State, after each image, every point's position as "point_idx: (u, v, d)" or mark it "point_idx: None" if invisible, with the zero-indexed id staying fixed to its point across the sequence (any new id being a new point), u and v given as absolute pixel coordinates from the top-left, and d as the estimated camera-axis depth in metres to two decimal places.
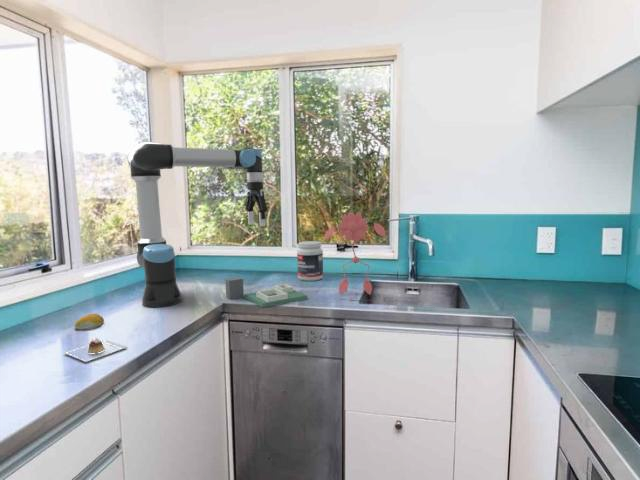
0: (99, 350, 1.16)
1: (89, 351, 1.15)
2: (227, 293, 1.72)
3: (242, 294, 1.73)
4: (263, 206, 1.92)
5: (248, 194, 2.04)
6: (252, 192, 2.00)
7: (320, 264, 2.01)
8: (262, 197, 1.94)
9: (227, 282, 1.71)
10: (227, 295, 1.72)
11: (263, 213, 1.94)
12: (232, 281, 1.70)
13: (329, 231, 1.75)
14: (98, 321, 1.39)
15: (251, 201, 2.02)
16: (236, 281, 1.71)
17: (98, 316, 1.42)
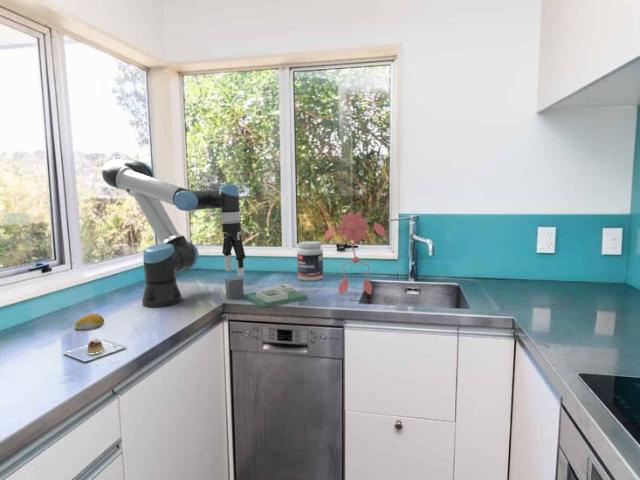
0: (98, 350, 1.16)
1: (88, 351, 1.15)
2: (227, 293, 1.72)
3: (242, 294, 1.73)
4: (240, 253, 1.63)
5: (224, 236, 1.74)
6: (228, 235, 1.70)
7: (320, 264, 2.01)
8: (239, 242, 1.64)
9: (227, 282, 1.71)
10: (227, 295, 1.72)
11: (241, 261, 1.64)
12: (232, 281, 1.70)
13: (329, 231, 1.75)
14: (98, 321, 1.39)
15: (228, 245, 1.73)
16: (236, 281, 1.71)
17: (98, 316, 1.42)
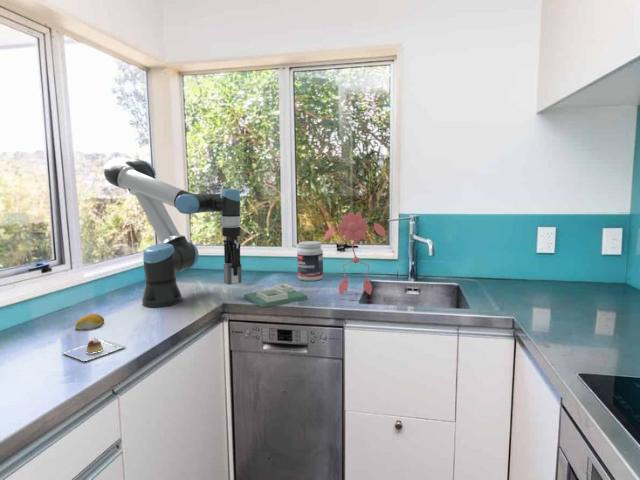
0: (98, 350, 1.16)
1: (88, 351, 1.15)
2: (225, 278, 1.71)
3: (240, 279, 1.72)
4: (236, 262, 1.66)
5: (224, 242, 1.74)
6: (227, 236, 1.71)
7: (320, 264, 2.01)
8: (237, 250, 1.66)
9: (225, 267, 1.70)
10: (225, 280, 1.72)
11: (235, 269, 1.68)
12: (230, 266, 1.69)
13: (329, 231, 1.75)
14: (98, 321, 1.39)
15: (228, 250, 1.72)
16: None
17: (98, 316, 1.42)
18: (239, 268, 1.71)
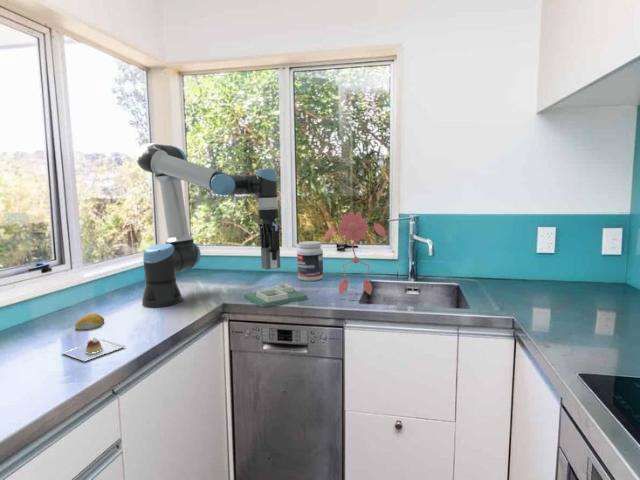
0: (97, 349, 1.16)
1: (87, 351, 1.16)
2: (263, 263, 1.63)
3: (279, 264, 1.64)
4: (275, 245, 1.58)
5: (260, 226, 1.66)
6: (264, 219, 1.63)
7: (320, 264, 2.01)
8: (276, 233, 1.58)
9: (263, 251, 1.62)
10: (263, 265, 1.63)
11: (274, 253, 1.60)
12: (269, 250, 1.61)
13: (329, 231, 1.75)
14: (98, 321, 1.39)
15: (265, 234, 1.64)
16: None
17: (98, 316, 1.42)
18: (277, 252, 1.63)
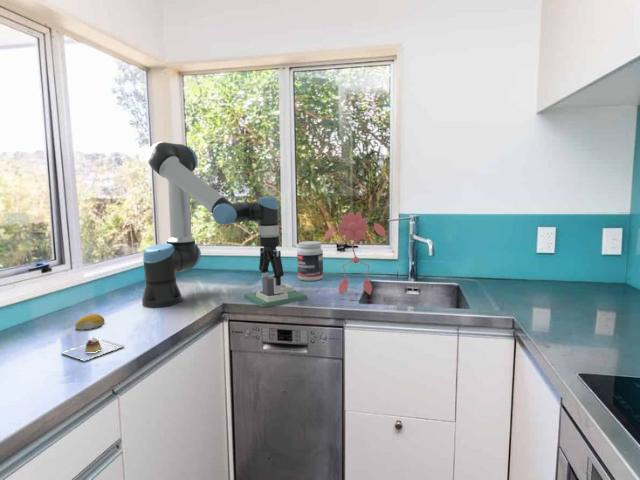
0: (96, 349, 1.16)
1: (86, 350, 1.16)
2: (264, 292, 1.64)
3: (280, 293, 1.65)
4: (279, 271, 1.57)
5: (261, 251, 1.68)
6: (266, 248, 1.64)
7: (320, 264, 2.01)
8: (278, 258, 1.58)
9: (264, 281, 1.63)
10: None
11: (278, 278, 1.59)
12: (270, 280, 1.62)
13: (329, 231, 1.75)
14: (99, 321, 1.39)
15: (265, 259, 1.66)
16: None
17: (98, 316, 1.42)
18: None
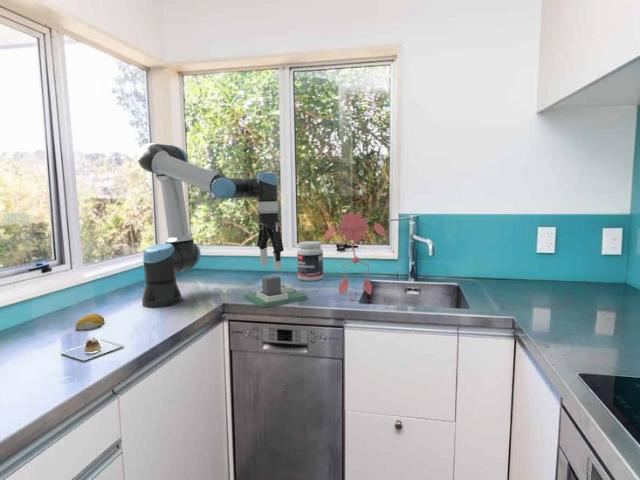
0: (96, 349, 1.17)
1: (86, 350, 1.16)
2: (264, 292, 1.64)
3: (279, 293, 1.65)
4: (278, 245, 1.56)
5: (260, 227, 1.67)
6: (265, 225, 1.63)
7: (320, 264, 2.01)
8: (278, 234, 1.57)
9: (264, 281, 1.63)
10: None
11: (278, 254, 1.57)
12: (270, 279, 1.62)
13: (329, 231, 1.75)
14: (99, 321, 1.39)
15: (264, 236, 1.65)
16: (274, 280, 1.63)
17: (99, 316, 1.42)
18: (278, 281, 1.64)
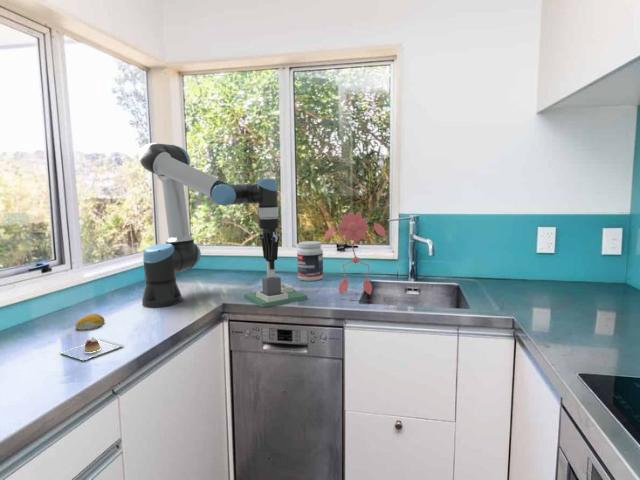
0: (95, 349, 1.17)
1: (85, 350, 1.16)
2: (264, 292, 1.64)
3: (280, 293, 1.65)
4: (273, 255, 1.60)
5: (261, 237, 1.66)
6: None
7: (320, 264, 2.01)
8: (276, 244, 1.59)
9: (264, 281, 1.63)
10: None
11: (272, 262, 1.62)
12: (270, 280, 1.62)
13: (329, 231, 1.75)
14: (99, 321, 1.39)
15: (267, 243, 1.63)
16: (274, 280, 1.63)
17: (99, 316, 1.42)
18: (279, 282, 1.64)
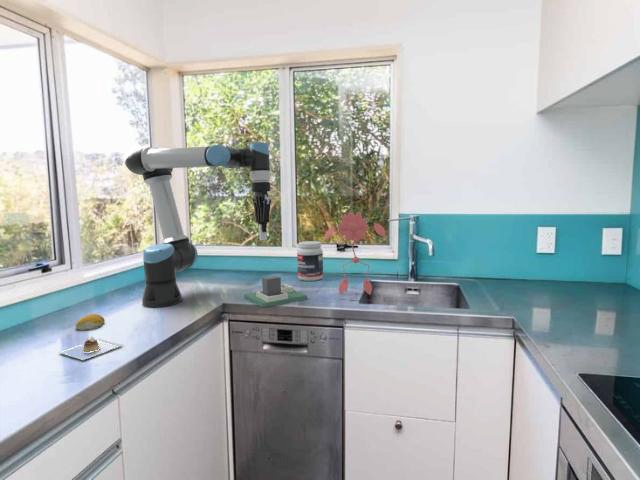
0: (95, 349, 1.17)
1: (85, 350, 1.16)
2: (264, 292, 1.64)
3: (280, 293, 1.65)
4: (265, 218, 1.63)
5: (254, 201, 1.70)
6: (256, 191, 1.67)
7: (320, 264, 2.01)
8: (267, 206, 1.62)
9: (264, 281, 1.63)
10: None
11: (264, 225, 1.66)
12: (270, 280, 1.62)
13: (329, 231, 1.75)
14: (99, 321, 1.39)
15: (259, 206, 1.67)
16: (274, 280, 1.63)
17: (99, 316, 1.42)
18: (278, 282, 1.64)
